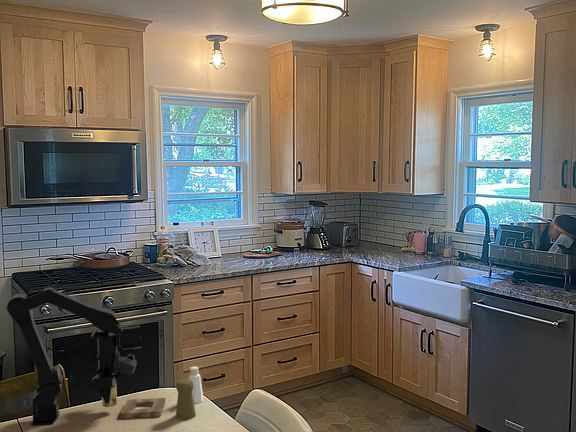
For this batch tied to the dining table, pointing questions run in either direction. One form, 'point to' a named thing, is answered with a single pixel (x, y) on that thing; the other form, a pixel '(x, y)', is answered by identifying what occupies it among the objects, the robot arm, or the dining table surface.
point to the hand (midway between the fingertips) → (109, 400)
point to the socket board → (143, 408)
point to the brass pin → (111, 398)
